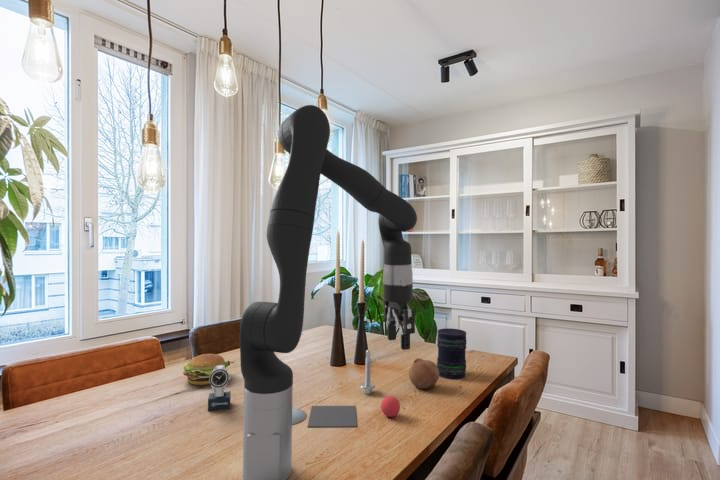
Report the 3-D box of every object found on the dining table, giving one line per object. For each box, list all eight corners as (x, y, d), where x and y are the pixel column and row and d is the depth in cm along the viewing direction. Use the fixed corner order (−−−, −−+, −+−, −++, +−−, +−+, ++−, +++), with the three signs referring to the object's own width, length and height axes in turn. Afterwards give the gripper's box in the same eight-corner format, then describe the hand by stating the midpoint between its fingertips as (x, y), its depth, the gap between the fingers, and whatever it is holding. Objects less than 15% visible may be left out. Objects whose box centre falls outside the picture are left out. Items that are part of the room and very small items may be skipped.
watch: (207, 414, 101) (207, 372, 102) (210, 402, 109) (210, 362, 109) (229, 412, 103) (230, 370, 103) (231, 400, 111) (231, 361, 111)
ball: (401, 420, 100) (401, 400, 100) (381, 420, 99) (382, 400, 99) (398, 411, 105) (398, 393, 105) (379, 411, 104) (380, 393, 104)
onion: (411, 395, 123) (398, 365, 126) (434, 383, 128) (421, 354, 130) (426, 395, 115) (412, 362, 117) (450, 382, 119) (436, 350, 122)
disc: (303, 425, 96) (303, 424, 96) (263, 425, 96) (263, 424, 96) (307, 408, 106) (307, 407, 106) (270, 408, 106) (270, 407, 106)
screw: (356, 393, 117) (364, 388, 121) (370, 396, 114) (378, 391, 119) (357, 350, 117) (365, 346, 121) (371, 352, 114) (379, 348, 119)
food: (173, 386, 121) (173, 360, 121) (198, 371, 135) (198, 348, 135) (214, 389, 119) (215, 363, 119) (235, 374, 133) (236, 350, 133)
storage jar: (472, 377, 132) (472, 333, 132) (447, 381, 128) (448, 335, 129) (454, 368, 141) (455, 327, 141) (431, 371, 138) (431, 329, 138)
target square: (356, 427, 96) (356, 426, 96) (307, 427, 95) (307, 426, 95) (355, 406, 108) (355, 405, 108) (311, 406, 107) (311, 405, 107)
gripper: (374, 279, 106) (375, 338, 106) (395, 286, 92) (396, 354, 93) (399, 277, 108) (400, 335, 108) (424, 284, 94) (424, 351, 95)
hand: (398, 344), depth 100 cm, fingers open, 8 cm apart
